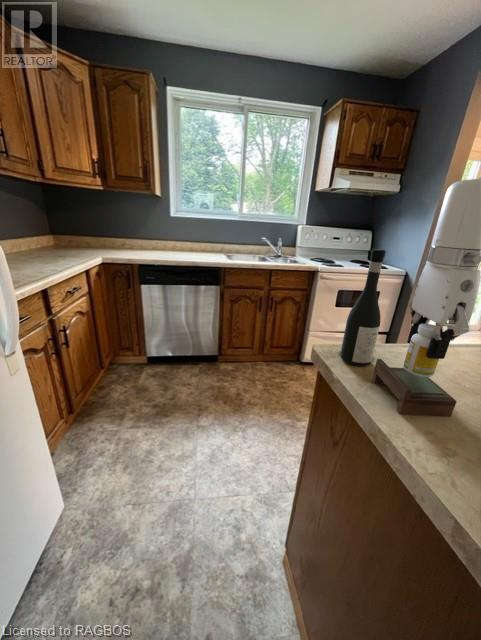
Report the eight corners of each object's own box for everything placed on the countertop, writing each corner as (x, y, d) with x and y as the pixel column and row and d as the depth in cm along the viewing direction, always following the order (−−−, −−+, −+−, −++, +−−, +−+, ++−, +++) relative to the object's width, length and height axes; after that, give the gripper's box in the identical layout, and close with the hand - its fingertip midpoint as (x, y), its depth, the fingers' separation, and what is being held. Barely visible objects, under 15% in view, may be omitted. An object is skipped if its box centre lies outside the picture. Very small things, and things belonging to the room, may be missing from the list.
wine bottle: (377, 364, 73) (405, 251, 63) (356, 370, 70) (382, 251, 60) (353, 352, 80) (376, 247, 70) (333, 356, 77) (353, 247, 66)
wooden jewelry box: (412, 386, 64) (420, 360, 62) (448, 422, 53) (460, 392, 50) (370, 385, 64) (377, 358, 61) (397, 420, 53) (407, 389, 50)
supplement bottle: (439, 375, 54) (455, 330, 51) (421, 380, 52) (436, 333, 49) (414, 362, 59) (427, 321, 56) (396, 366, 57) (409, 323, 54)
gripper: (521, 267, 40) (477, 374, 46) (440, 253, 56) (417, 334, 62) (470, 264, 40) (434, 372, 46) (404, 252, 56) (384, 333, 62)
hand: (424, 349), depth 54 cm, fingers closed on supplement bottle, 5 cm apart
